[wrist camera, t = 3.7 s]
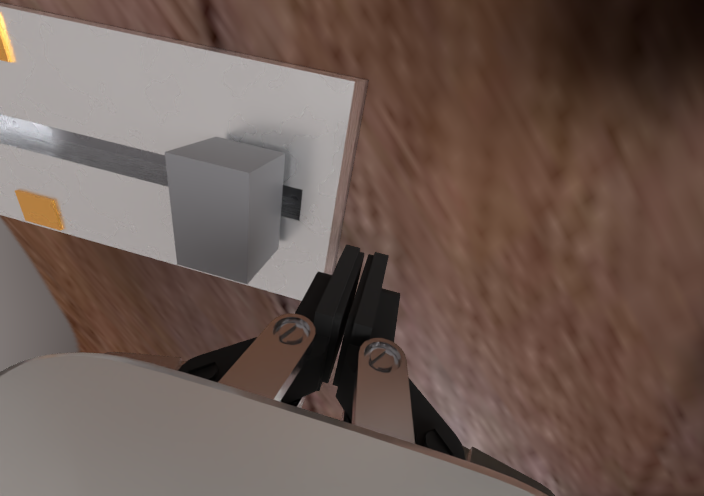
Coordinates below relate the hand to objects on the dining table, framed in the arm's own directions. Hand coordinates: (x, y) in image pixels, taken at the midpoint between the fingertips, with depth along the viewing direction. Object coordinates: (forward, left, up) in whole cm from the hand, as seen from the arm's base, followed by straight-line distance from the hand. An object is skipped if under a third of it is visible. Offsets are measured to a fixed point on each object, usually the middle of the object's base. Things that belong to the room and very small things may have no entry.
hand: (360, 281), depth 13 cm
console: (+17, +1, -11) cm, 20 cm away
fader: (+8, +1, -9) cm, 12 cm away
